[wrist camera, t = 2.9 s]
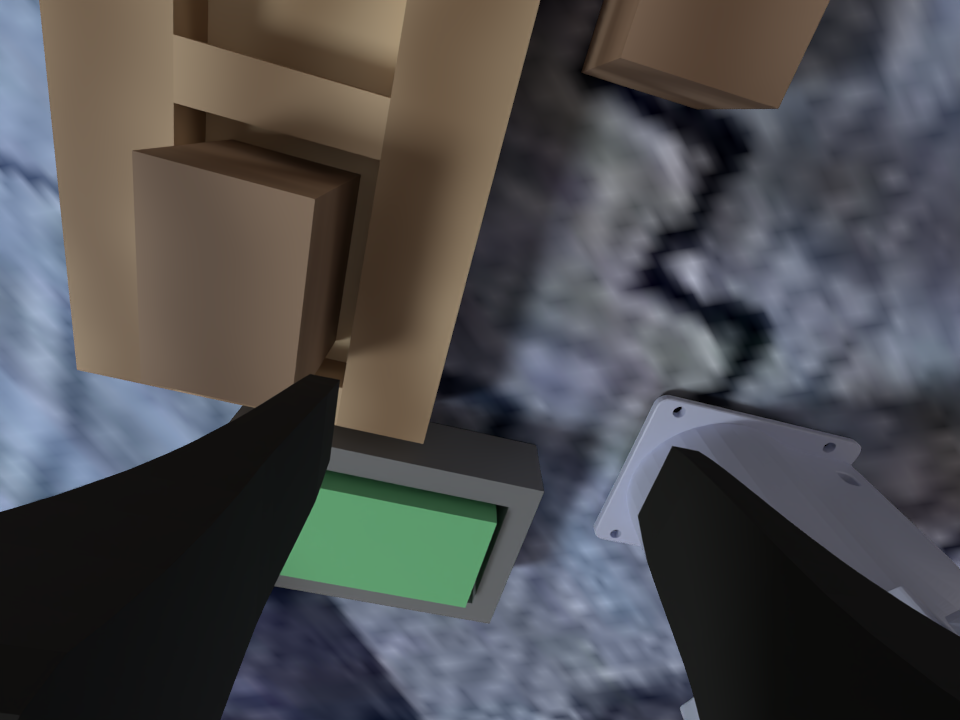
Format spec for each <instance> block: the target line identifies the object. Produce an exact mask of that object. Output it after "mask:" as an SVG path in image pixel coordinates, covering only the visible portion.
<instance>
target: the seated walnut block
mask: <svg viewBox="0 0 960 720" xmlns="http://www.w3.org/2000/svg"><path fill="white" fill-rule="evenodd" d="M132 166H133V191H134V217H135V243H136V268H137V294H138V319H139V345H140V371H141V382H143V383H148V384H153V385H157V386H162V387H167V388H171V389H176V390H181V391H185V392H190V393H195V394H199V395H204V396H208V397H213V398H218V399H222V400H227V401H232V402H236V403H241V404H246V405H250V406H255V407H257V406H259V405H260V404H262V403H264V402H265V401H267V400H269V399H270V398H272V397H273V396H275V395H277V394H278V393H280V392H281V391H283V390H284V389H286V388H288V387H289V386H291V385H292V384H294V383H296V382H297V381H299V380H300V379H302V378H304V377H306V376H307V375H309V374H313V375H315V373H316V372H317V370H318V369H319V367H320V365H321V364H322V362H323V361H324V359H325V357H326V356H327V354H328V353H329V351H330V349H331V348H332V346H333V344H334V343H335V341H336V336H337V329H338V323H339V316H340V310H341V303H342V296H343V290H344V283H345V277H346V270H347V264H348V257H349V250H350V244H351V237H352V231H353V224H354V218H355V211H356V204H357V198H358V191H359V185H360V178H361V174H357V173H353V172H350V171H346V170H342V169H339V168H335V167H332V166H328V165H324V164H321V163H317V162H313V161H310V160H306V159H302V158H299V157H295V156H291V155H288V154H284V153H281V152H277V151H273V150H270V149H266V148H262V147H259V146H255V145H251V144H248V143H244V142H241V141H237V140H233V139H230V140H221V141H212V142H203V143H194V144H185V145H176V146H167V147H158V148H150V149H141V150H132Z"/></svg>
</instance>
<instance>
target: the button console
mask: <svg viewBox="0 0 960 720" xmlns="http://www.w3.org/2000/svg"><path fill="white" fill-rule="evenodd" d="M252 409H254V408H253V407H248V406H244V405H243V406H242V407H241V408H240V410H239V411H238V412H237V413H236V415H235V416H234V417H233V418H232V420H231V421H233V420H235V419H237V418H239V417H240V416H242V415H244V414H245V413H247V412H249V411H250V410H252ZM231 421H230V422H231ZM230 422H229V423H230ZM327 470H329V471H334V472H339V473H344V474H349V475H354V476H359V477H364V478H369V479H374V480H379V481H383V482H388V483H393V484H398V485H403V486H408V487H413V488H418V489H423V490H428V491H433V492H437V493H442V494H447V495H452V496H457V497H462V498H467V499H472V500H477V501H482V502H487V503H491V504H496V514H497V525H496V527H495V530H494V533H493V535H492V538H491V541H490V543H489V546H488V549H487V551H486V554H485V557H484V559H483V562H482V565H481V567H480V570H479V573H478V575H477V578H476V581H475V583H474V586H473V589H472V591H471V594H470V596H469V599H468V602H467V604H466V607H465V608H463V607H458V606H452V605H446V604H441V603H435V602H430V601H424V600H418V599H413V598H407V597H401V596H396V595H390V594H384V593H379V592H373V591H368V590H362V589H356V588H351V587H345V586H339V585H334V584H328V583H322V582H317V581H311V580H305V579H300V578H294V577H289V576H283V575H279V577H278V579H277V581H276V583H275V585H274V586H277V587H283V588H288V589H294V590H300V591H305V592H311V593H317V594H323V595H328V596H334V597H340V598H346V599H351V600H357V601H363V602H368V603H374V604H380V605H386V606H391V607H397V608H403V609H409V610H414V611H420V612H426V613H432V614H437V615H443V616H449V617H454V618H460V619H466V620H472V621H477V622H483V623H490V621H491V618H492V616H493V614H494V611H495V609H496V606H497V604H498V602H499V599H500V597H501V594H502V592H503V590H504V587H505V585H506V582H507V580H508V578H509V575H510V573H511V570H512V568H513V566H514V563H515V561H516V558H517V556H518V553H519V551H520V549H521V546H522V544H523V541H524V539H525V537H526V534H527V532H528V529H529V527H530V525H531V522H532V520H533V517H534V515H535V513H536V510H537V508H538V505H539V503H540V501H541V498H542V496H543V493H544V488H543V482H542V476H541V470H540V464H539V459H538V453H537V447H536V445H532V444H528V443H523V442H519V441H514V440H509V439H505V438H500V437H496V436H491V435H487V434H482V433H478V432H473V431H469V430H464V429H459V428H455V427H450V426H446V425H441V424H437V423H432V422H429V424H428V428H427V432H426V436H425V440H424V443H423V444H421V443H416V442H411V441H407V440H402V439H397V438H393V437H388V436H383V435H379V434H374V433H369V432H365V431H360V430H355V429H351V428H346V427H341V426H337V425H334V432H333V440H332V448H331V456H330V461H329V464H328V467H327Z"/></svg>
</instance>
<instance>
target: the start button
mask: <svg viewBox="0 0 960 720" xmlns="http://www.w3.org/2000/svg"><path fill="white" fill-rule="evenodd" d="M496 525H497V514H496V504H491V503H487V502H482V501H477V500H472V499H467V498H462V497H457V496H452V495H447V494H442V493H437V492H433V491H428V490H423V489H418V488H413V487H408V486H403V485H398V484H393V483H388V482H383V481H379V480H374V479H369V478H364V477H359V476H354V475H349V474H344V473H339V472H334V471H329V470H326V473H325V476H324V479H323V482H322V485H321V487H320V490H319V493H318V496H317V499H316V502H315V504H314V506H313V508H312V510H311V512H310V514H309V516H308V518H307V520H306V522H305V524H304V526H303V529H302V531H301V533H300V535H299V537H298V539H297V541H296V543H295V545H294V547H293V549H292V551H291V553H290V555H289V557H288V559H287V561H286V563H285V565H284V567H283V569H282V571H281V573H280V575H283V576H289V577H294V578H300V579H305V580H311V581H317V582H322V583H328V584H334V585H339V586H345V587H351V588H356V589H362V590H368V591H373V592H379V593H384V594H390V595H396V596H401V597H407V598H413V599H418V600H424V601H430V602H435V603H441V604H446V605H452V606H458V607H463V608H465V607H466V604H467V602H468V599H469V596H470V594H471V591H472V589H473V586H474V583H475V581H476V578H477V575H478V573H479V570H480V567H481V565H482V562H483V559H484V557H485V554H486V551H487V549H488V546H489V543H490V541H491V538H492V535H493V533H494V530H495V527H496Z"/></svg>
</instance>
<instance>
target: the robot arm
mask: <svg viewBox="0 0 960 720" xmlns="http://www.w3.org/2000/svg"><path fill="white" fill-rule="evenodd" d="M339 385H340V380H338V379H333V378H328V377H323V376H318V375H313V374H309V375H307V376H306V377H304V378H302V379H300V380H299V381H297V382H296V383H294V384H292V385H291V386H289V387H288V388H286V389H284V390H283V391H281V392H280V393H278V394H277V395H275V396H273V397H272V398H270V399H269V400H267V401H265V402H264V403H262V404H260V405H259V406H257V407H255V408H254V409H252V410H250V411H249V412H247V413H245V414H244V415H242V416H240V417H239V418H237V419H235V420H233V421H231V422H230V423H228V424H226V425H224V426H222V427H220V428H218V429H216V430H214V431H213V432H211V433H209V434H207V435H205V436H203V437H201V438H199V439H197V440H195V441H193V442H191V443H189V444H187V445H185V446H183V447H181V448H179V449H176V450H174V451H172V452H170V453H168V454H165V455H163V456H160V457H158V458H156V459H153V460H151V461H149V462H146V463H144V464H141V465H139V466H137V467H134V468H132V469H129V470H127V471H124V472H121V473H118V474H116V475H113V476H110V477H107V478H104V479H101V480H98V481H96V482H93V483H90V484H87V485H84V486H81V487H78V488H76V489H73V490H70V491H67V492H64V493H61V494H58V495H55V496H52V497H49V498H46V499H43V500H39V501H36V502H33V503H29V504H26V505H23V506H19V507H16V508H13V509H9V510H6V511H2V512H0V720H220V719H221V716H222V714H223V711H224V708H225V706H226V703H227V700H228V698H229V695H230V692H231V689H232V687H233V684H234V681H235V679H236V676H237V673H238V671H239V668H240V666H241V663H242V660H243V658H244V655H245V652H246V650H247V647H248V645H249V642H250V639H251V637H252V634H253V632H254V629H255V626H256V624H257V622H258V619H259V617H260V615H261V613H262V610H263V608H264V606H265V604H266V601H267V599H268V597H269V595H270V593H271V591H272V589H273V587H274V585H275V583H276V581H277V579H278V577H279V575H280V573H281V571H282V569H283V567H284V565H285V563H286V561H287V559H288V557H289V555H290V553H291V551H292V549H293V547H294V545H295V543H296V541H297V539H298V537H299V535H300V533H301V531H302V529H303V526H304V524H305V522H306V520H307V518H308V516H309V514H310V512H311V510H312V508H313V506H314V504H315V502H316V499H317V496H318V493H319V490H320V487H321V485H322V482H323V479H324V476H325V473H326V470H327V467H328V464H329V461H330V456H331V448H332V440H333V432H334V424H335V416H336V408H337V400H338V392H339ZM677 407H682V409H681V410H680V411H678V412H673V411H674V409H675V408H677ZM828 443H829V444H828ZM826 444H828V445H827V446H825V445H826ZM824 446H825V447H824ZM860 452H861V446H860V445H859V444H858V443H857V442H856V441H855V440H853V439H851V438H846V437H842V436H838V435H834V434H830V433H826V432H821V431H817V430H813V429H809V428H805V427H801V426H796V425H792V424H788V423H784V422H780V421H776V420H772V419H767V418H763V417H759V416H755V415H751V414H747V413H742V412H738V411H734V410H730V409H726V408H722V407H717V406H713V405H709V404H705V403H701V402H697V401H692V400H688V399H684V398H680V397H676V396H672V395H663V396H660V397H659V398H657V399H656V401H655V402H654V404H653V406H652V408H651V410H650V412H649V414H648V416H647V418H646V420H645V422H644V424H643V426H642V428H641V430H640V432H639V434H638V436H637V438H636V440H635V442H634V445H633V447H632V449H631V451H630V453H629V455H628V457H627V459H626V461H625V463H624V465H623V467H622V469H621V471H620V473H619V475H618V477H617V479H616V481H615V483H614V485H613V487H612V489H611V491H610V493H609V495H608V497H607V500H606V502H605V504H604V506H603V508H602V510H601V512H600V514H599V516H598V518H597V520H596V522H595V524H594V531H595V534H596V536H597V537H599V538H601V539H606V540H611V541H616V542H621V543H626V544H631V545H636V546H641V547H642V549H643V552H644V554H645V557H646V560H647V562H648V565H649V568H650V571H651V574H652V577H653V580H654V582H655V585H656V588H657V591H658V594H659V597H660V599H661V602H662V605H663V608H664V611H665V613H666V616H667V619H668V622H669V624H670V627H671V630H672V633H673V635H674V638H675V641H676V644H677V646H678V649H679V652H680V655H681V658H682V660H683V663H684V666H685V669H686V672H687V676H688V679H689V682H690V685H691V688H692V692H693V696H694V697H693V698H692V699H691V700H690V701H688V702H686V703H685V704H683V705H682V706H681V708H680V710H681V713H682V716H683V719H684V720H960V569H959V567H958V566H957V565H956V564H955V563H954V562H953V561H952V560H951V559H950V558H949V557H948V556H946V555H945V554H944V553H943V552H942V551H941V550H940V549H939V548H938V547H937V546H936V545H935V544H934V543H933V542H932V541H931V540H930V539H929V538H927V537H926V536H925V535H924V534H923V533H922V532H921V531H920V530H919V529H918V528H917V527H916V526H915V525H914V524H913V523H912V522H911V521H910V520H908V519H907V518H906V517H905V516H904V515H903V514H902V513H901V512H900V511H899V510H898V509H897V508H896V507H895V506H894V505H893V504H892V503H891V502H890V501H888V500H887V499H886V498H885V497H884V496H883V495H882V494H881V493H880V492H879V491H878V490H877V489H876V488H875V487H874V486H873V485H872V484H871V483H869V482H868V481H867V480H866V479H865V478H864V477H863V476H862V475H861V474H860V473H859V472H858V471H857V470H856V469H855V468H854V467H853V466H852V464H853V462H854V461H855V460H856V458H857V457H858V456H859V454H860ZM613 530H617V531H615V532H612V531H613Z"/></svg>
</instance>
